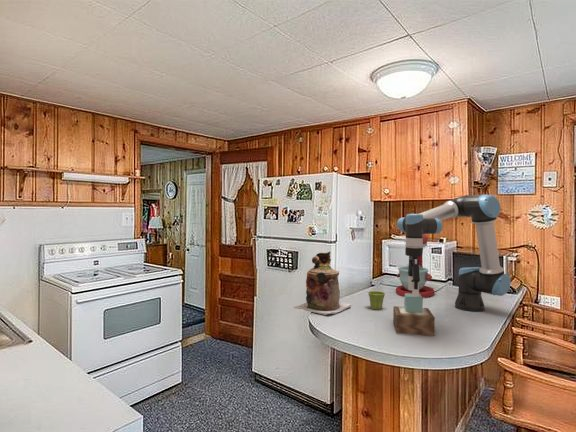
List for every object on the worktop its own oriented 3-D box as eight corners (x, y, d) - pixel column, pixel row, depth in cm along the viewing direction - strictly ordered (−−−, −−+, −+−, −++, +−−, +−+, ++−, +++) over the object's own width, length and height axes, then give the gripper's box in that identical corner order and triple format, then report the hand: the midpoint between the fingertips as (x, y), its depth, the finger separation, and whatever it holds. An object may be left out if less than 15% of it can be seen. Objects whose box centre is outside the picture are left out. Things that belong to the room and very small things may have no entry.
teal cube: (419, 308, 174) (420, 294, 174) (422, 312, 167) (422, 297, 167) (404, 308, 175) (404, 293, 175) (406, 311, 168) (406, 296, 168)
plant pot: (385, 311, 202) (385, 295, 202) (367, 309, 204) (368, 294, 204) (384, 306, 211) (384, 291, 211) (367, 305, 213) (367, 290, 213)
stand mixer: (390, 295, 241) (390, 233, 240) (403, 287, 267) (404, 231, 267) (428, 300, 228) (429, 235, 227) (438, 291, 254) (439, 233, 254)
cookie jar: (317, 301, 223) (317, 248, 223) (353, 308, 208) (354, 251, 207) (291, 309, 204) (292, 251, 204) (329, 317, 189) (330, 254, 188)
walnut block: (427, 324, 177) (428, 307, 177) (434, 335, 162) (434, 316, 162) (393, 322, 181) (393, 305, 180) (396, 332, 165) (396, 313, 165)
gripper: (402, 244, 184) (401, 287, 184) (408, 249, 159) (408, 298, 159) (418, 245, 182) (417, 288, 183) (427, 250, 158) (426, 299, 158)
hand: (413, 293), depth 171 cm, fingers open, 13 cm apart
